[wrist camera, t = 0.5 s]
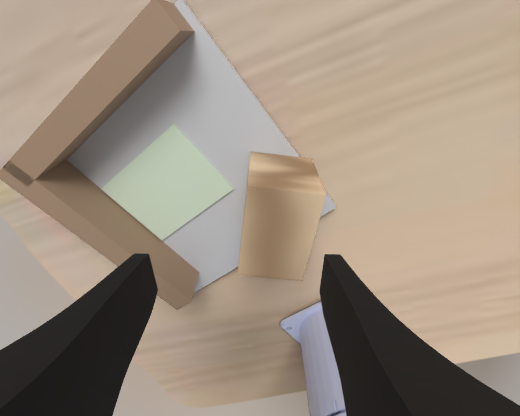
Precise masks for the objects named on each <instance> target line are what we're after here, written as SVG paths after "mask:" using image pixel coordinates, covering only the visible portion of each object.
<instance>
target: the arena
mask: <svg viewBox="0 0 520 416" xmlns="http://www.w3.org/2000/svg"><path fill="white" fill-rule="evenodd" d="M251 151H253V152H261V153H270V154H278V155H286V156H294V157H300V156H299V155H298V153H297V152H296V151H295V149H294V148H293V147H292V145H291V144H290V143H289V141H288V140H287V139H286V137H285V136H284V135H283V133H282V132H281V131H280V129H279V128H278V127H277V125H276V124H275V123H274V121H273V120H272V118H271V117H270V116H269V114H268V113H267V112H266V110H265V109H264V108H263V106H262V105H261V104H260V102H259V101H258V100H257V98H256V97H255V96H254V94H253V93H252V92H251V90H250V89H249V88H248V86H247V85H246V84H245V82H244V81H243V79H242V78H241V77H240V75H239V74H238V73H237V71H236V70H235V69H234V67H233V66H232V65H231V63H230V62H229V61H228V59H227V58H226V57H225V55H224V54H223V53H222V51H221V50H220V49H219V47H218V46H217V45H216V43H215V42H214V41H213V39H212V38H211V36H210V35H209V34H208V32H207V31H206V30H205V28H204V27H203V26H202V24H201V23H200V22H199V20H198V19H197V18H196V16H195V15H194V14H193V12H192V11H191V10H190V8H189V7H188V6H187V4H186V3H185V2H184V0H177V1H176V2H175V3H174V4H173V3H170V2H167V1H164V0H151V1H150V2H149V4H148V5H147V6H146V7H145V8H144V9H143V10H142V11H141V13H140V14H139V15H138V16H137V17H136V18H135V19H134V20H133V22H132V23H131V24H130V25H129V26H128V27H127V28H126V29H125V31H124V32H123V33H122V34H121V35H120V36H119V37H118V39H117V40H116V41H115V42H114V43H113V44H112V45H111V46H110V48H109V49H108V50H107V51H106V52H105V53H104V54H103V55H102V57H101V58H100V59H99V60H98V61H97V62H96V63H95V64H94V66H93V67H92V68H91V69H90V70H89V71H88V72H87V73H86V75H85V76H84V77H83V78H82V79H81V80H80V81H79V82H78V84H77V85H76V86H75V87H74V88H73V89H72V90H71V91H70V93H69V94H68V95H67V96H66V97H65V98H64V99H63V100H62V102H61V103H60V104H59V105H58V106H57V107H56V108H55V109H54V111H53V112H52V113H51V114H50V115H49V116H48V117H47V118H46V120H45V121H44V122H43V123H42V124H41V125H40V126H39V127H38V129H37V130H36V131H35V132H34V133H33V134H32V135H31V136H30V138H29V139H28V140H27V141H26V142H25V143H24V144H23V145H22V147H21V148H20V149H19V150H18V151H17V152H16V153H15V154H14V156H13V157H12V158H11V159H10V160H9V161H8V162H7V163H6V165H5V166H4V167H3V168H2V169H1V170H0V179H1V180H2V181H4V182H5V183H6V184H8V185H9V186H10V187H12V188H13V189H14V190H16V191H17V192H18V193H20V194H21V195H23V196H24V197H25V198H27V199H28V200H29V201H31V202H32V203H33V204H35V205H36V206H37V207H39V208H40V209H41V210H43V211H44V212H45V213H47V214H48V215H50V216H51V217H52V218H54V219H55V220H56V221H58V222H59V223H60V224H62V225H63V226H64V227H66V228H67V229H68V230H70V231H71V232H73V233H74V234H75V235H77V236H78V237H79V238H81V239H82V240H83V241H85V242H86V243H87V244H89V245H90V246H91V247H93V248H94V249H96V250H97V251H98V252H100V253H101V254H102V255H104V256H105V257H106V258H108V259H109V260H110V261H112V262H113V263H114V264H116V265H117V266H120V265H121V264H122V263H123V262H124V261H126V260H127V259H128V258H129V257H130V256H132V255H133V254H134V253H139V254H149V256H150V260H151V264H152V268H153V272H154V276H155V280H156V284H157V288H158V292H157V295H158V296H159V297H160V298H162V299H163V300H164V301H166V302H167V303H169V304H170V305H171V306H173V307H174V308H175V309H177V310H178V309H180V308H181V307H183V306H185V305H186V304H188V303H190V302H191V301H192V297H193V294H194V292H197V291H198V290H200V289H202V288H203V287H205V286H207V285H208V284H210V283H212V282H213V281H215V280H217V279H218V278H220V277H222V276H223V275H225V274H227V273H228V272H230V271H231V270H233V269H235V268H236V267H238V263H239V253H240V244H241V234H242V225H243V216H244V207H245V198H246V190H247V181H248V172H249V163H250V154H251ZM325 193H326V198H325V202H324V205H323V209H322V212H321V216H323V215H325V214H326V213H328V212H330V211H331V210H333V209H335V208H336V205H335V203H334V202H333V200H332V199H331V198H330V196H329V195H328V194H327V192H326V191H325ZM321 216H320V217H321Z"/></svg>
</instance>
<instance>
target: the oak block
mask: <svg viewBox="0 0 520 416" xmlns="http://www.w3.org/2000/svg"><path fill="white" fill-rule="evenodd" d="M325 198H326V193H325V190H324V188H323V185H322V183H321V180H320V178H319V175H318V173H317V170H316V168H315V165H314V163H313V160H312V159H311V158H302V157H294V156H286V155H278V154H270V153H261V152H253V151H251V154H250V163H249V172H248V181H247V190H246V198H245V207H244V216H243V225H242V234H241V244H240V253H239V263H238V272H237V275H246V276H256V277H266V278H277V279H287V280H297V281H303V278H304V274H305V271H306V267H307V263H308V260H309V256H310V252H311V249H312V245H313V242H314V238H315V234H316V231H317V227H318V223H319V220H320V216H321V212H322V209H323V205H324V202H325Z"/></svg>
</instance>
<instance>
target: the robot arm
mask: <svg viewBox="0 0 520 416" xmlns="http://www.w3.org/2000/svg"><path fill="white" fill-rule="evenodd" d="M157 292H158V288H157V284H156V280H155V276H154V272H153V268H152V264H151V260H150V256H149V254H139V253H134V254H133V255H132V256H130V257H129V258H128V259H127V260H126V261H124V262H123V263H122V264H121V265H120V266H119V267H117V268H116V269H115V270H114V271H113V272H112V273H110V274H109V275H108V276H107V277H106V278H104V279H103V280H102V281H101V282H100V283H98V284H97V285H96V286H95V287H93V288H92V289H91V290H90V291H88V292H87V293H86V294H84V295H83V296H82V297H81V298H79V299H78V300H77V301H75V302H74V303H73V304H72V305H70V306H69V307H68V308H66V309H65V310H63V311H62V312H61V313H59V314H58V315H56V316H55V317H53V318H52V319H50V320H49V321H47V322H46V323H44V324H43V325H41V326H40V327H38V328H37V329H35V330H33V331H32V332H30V333H29V334H27V335H25V336H23V337H22V338H20V339H18V340H17V341H15V342H13V343H12V344H10V345H9V346H7V347H5V348H3V349H2V350H0V416H112V415H113V411H114V408H115V405H116V402H117V398H118V396H119V392H120V389H121V386H122V383H123V380H124V377H125V375H126V372H127V369H128V367H129V364H130V362H131V360H132V357H133V355H134V353H135V350H136V348H137V346H138V344H139V341H140V339H141V337H142V334H143V332H144V330H145V327H146V325H147V322H148V320H149V318H150V315H151V313H152V310H153V306H154V303H155V299H156V295H157ZM320 297H321V301H320V302H318V303H316V304H314V305H312V306H310V307H308V308H306V309H304V310H302V311H300V312H298V313H296V314H294V315H292V316H290V317H288V318H286V319H284V320H282V321H281V327H282V328H283V329H284V330H285V331H286V332H287V333H288V334H290V335H291V336H292V337H293V338H294V339H295V340H296V341H297V342H299V343H300V344H301V349H302V357H303V365H304V373H305V381H306V389H307V397H308V406H309V413H310V416H520V406H519V405H517V404H516V403H514V402H513V401H511V400H509V399H508V398H506V397H505V396H503V395H501V394H499V393H498V392H496V391H495V390H493V389H491V388H490V387H488V386H487V385H485V384H483V383H482V382H480V381H479V380H477V379H475V378H474V377H472V376H471V375H470V374H468V373H466V372H465V371H464V370H462V369H461V368H459V367H458V366H456V365H455V364H454V363H452V362H451V361H449V360H448V359H447V358H445V357H444V356H442V355H441V354H440V353H438V352H437V351H436V350H435V349H433V348H432V347H431V346H429V345H428V344H427V343H425V342H424V341H423V340H422V339H420V338H419V337H418V336H417V335H416V334H414V333H413V332H412V331H411V330H410V329H409V328H407V327H406V326H405V325H404V324H403V323H402V322H401V321H399V320H398V319H397V318H396V317H395V316H394V315H393V314H392V313H391V312H390V311H389V310H388V309H387V308H386V307H385V306H384V305H383V304H382V303H381V302H380V301H379V300H378V299H377V298H376V296H375V295H374V294H373V293H372V292H371V291H370V290H369V289H368V288H367V286H366V285H365V284H364V283H363V282H362V281H361V280H360V278H359V277H358V276H357V275H356V274H355V272H354V271H353V270H352V269H351V267H350V266H349V265H348V264H347V262H346V261H345V260H344V259H343V257H342V256H341V255H334V254H325V257H324V264H323V271H322V278H321V285H320Z"/></svg>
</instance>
